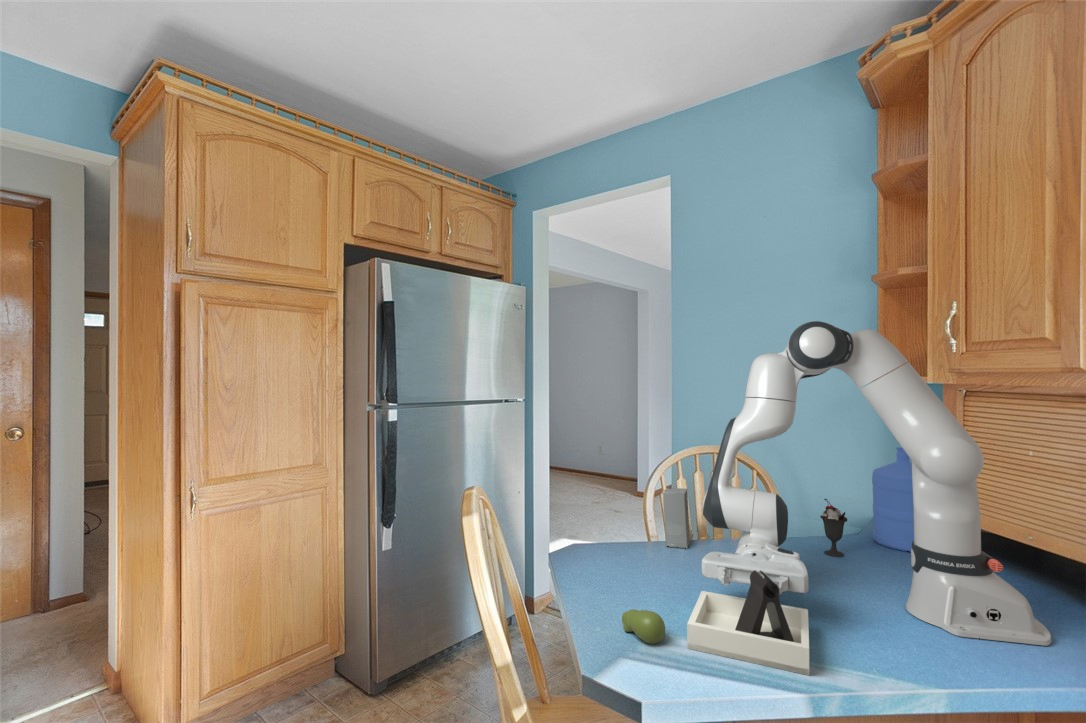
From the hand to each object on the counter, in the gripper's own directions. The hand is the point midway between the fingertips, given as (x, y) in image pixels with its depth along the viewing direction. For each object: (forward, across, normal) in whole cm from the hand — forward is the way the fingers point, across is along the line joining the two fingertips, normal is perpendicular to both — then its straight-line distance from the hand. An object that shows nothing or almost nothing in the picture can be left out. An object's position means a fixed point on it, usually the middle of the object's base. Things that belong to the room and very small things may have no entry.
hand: (750, 585), depth 101 cm
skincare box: (-48, -24, +10) cm, 54 cm away
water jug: (-76, +36, +10) cm, 84 cm away
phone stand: (+4, +3, +9) cm, 10 cm away
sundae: (-58, +17, +10) cm, 61 cm away
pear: (+9, -19, +10) cm, 23 cm away
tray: (+2, 0, +10) cm, 10 cm away
